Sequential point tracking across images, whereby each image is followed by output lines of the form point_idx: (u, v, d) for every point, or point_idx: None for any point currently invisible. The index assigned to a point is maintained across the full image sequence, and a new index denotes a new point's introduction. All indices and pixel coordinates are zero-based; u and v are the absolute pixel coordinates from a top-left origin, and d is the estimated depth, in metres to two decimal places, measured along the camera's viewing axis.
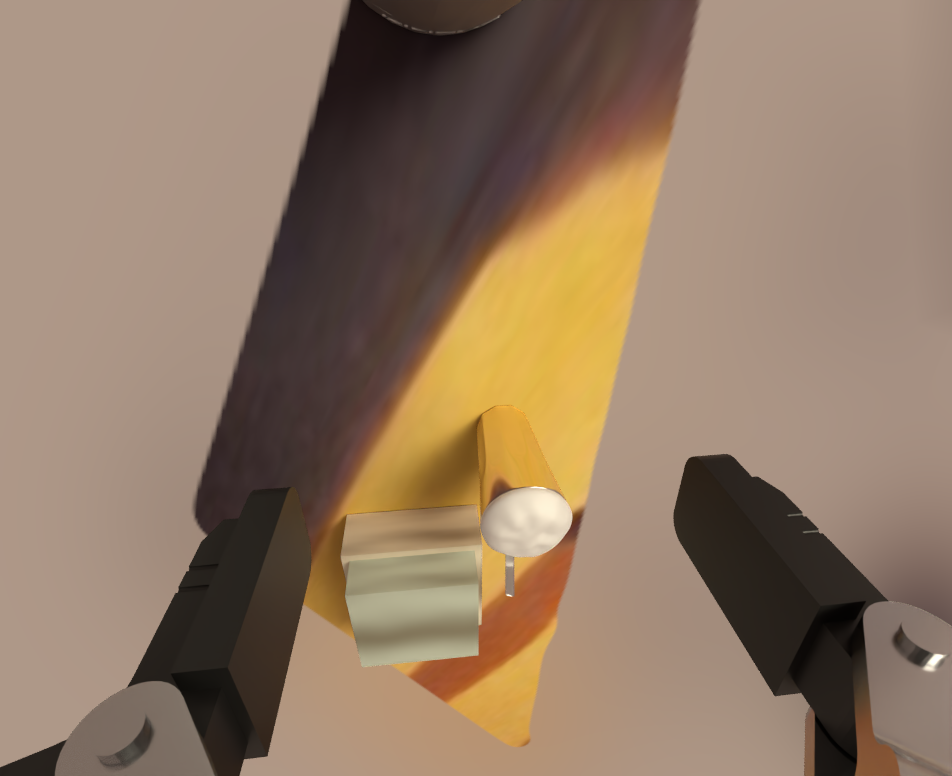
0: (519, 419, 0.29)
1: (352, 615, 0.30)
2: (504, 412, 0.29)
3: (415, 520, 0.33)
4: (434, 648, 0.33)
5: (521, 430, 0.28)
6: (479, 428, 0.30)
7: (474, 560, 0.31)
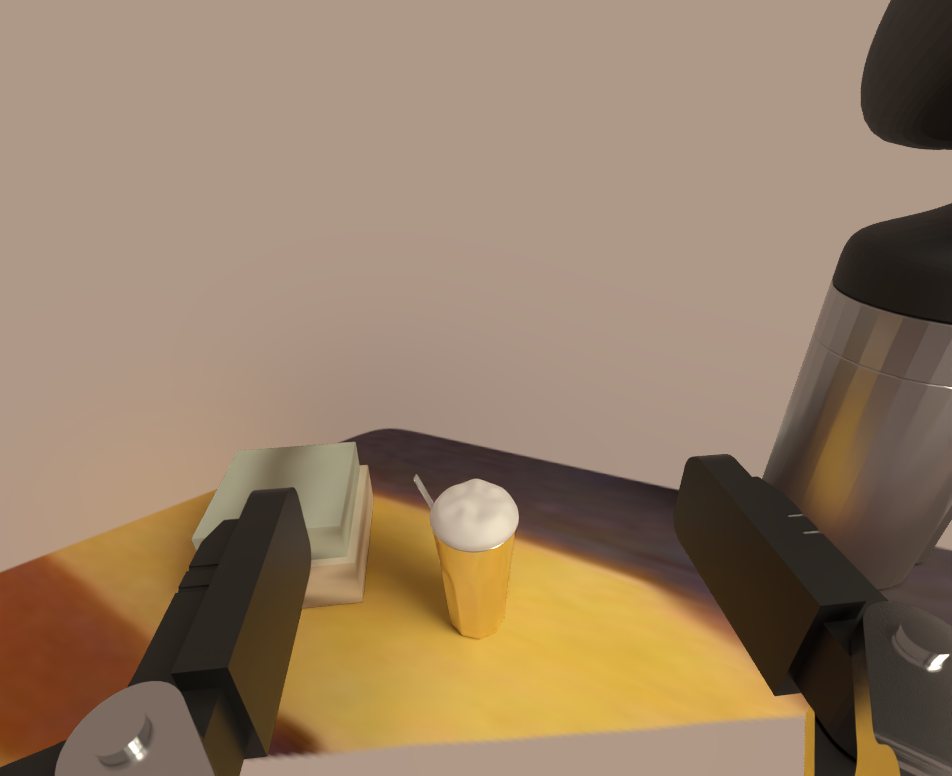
0: (503, 606, 0.28)
1: (325, 445, 0.34)
2: None
3: (366, 537, 0.33)
4: (235, 499, 0.29)
5: None
6: None
7: (345, 546, 0.28)
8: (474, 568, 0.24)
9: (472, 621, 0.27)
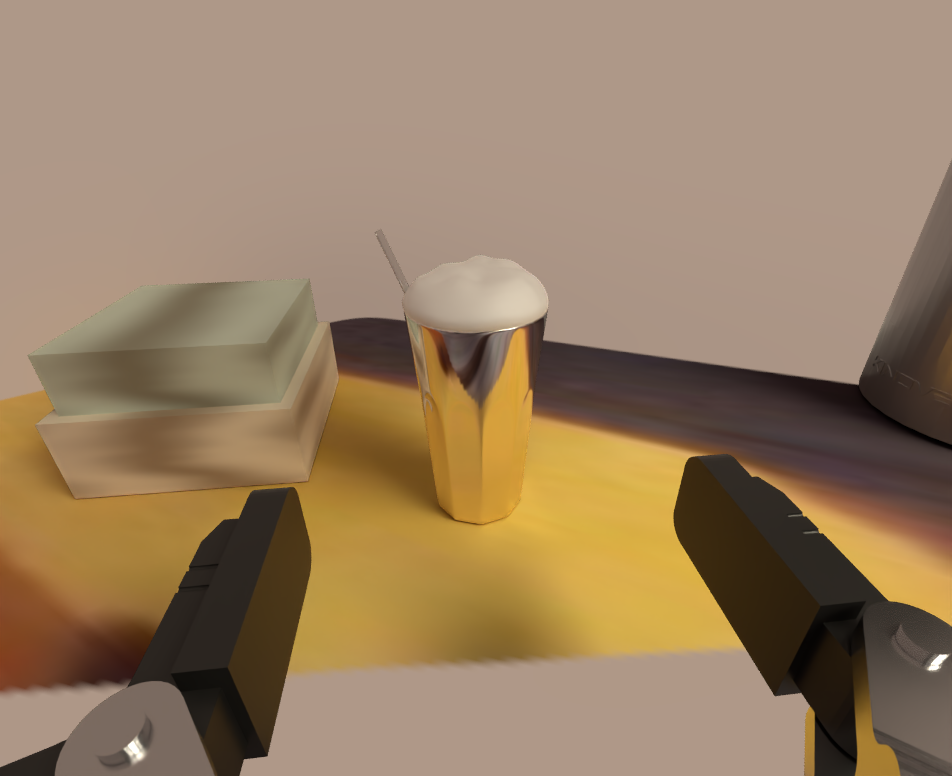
0: (520, 475, 0.18)
1: (267, 281, 0.24)
2: None
3: (321, 406, 0.23)
4: (116, 322, 0.20)
5: (527, 441, 0.17)
6: None
7: (277, 384, 0.18)
8: (475, 373, 0.14)
9: (471, 490, 0.17)
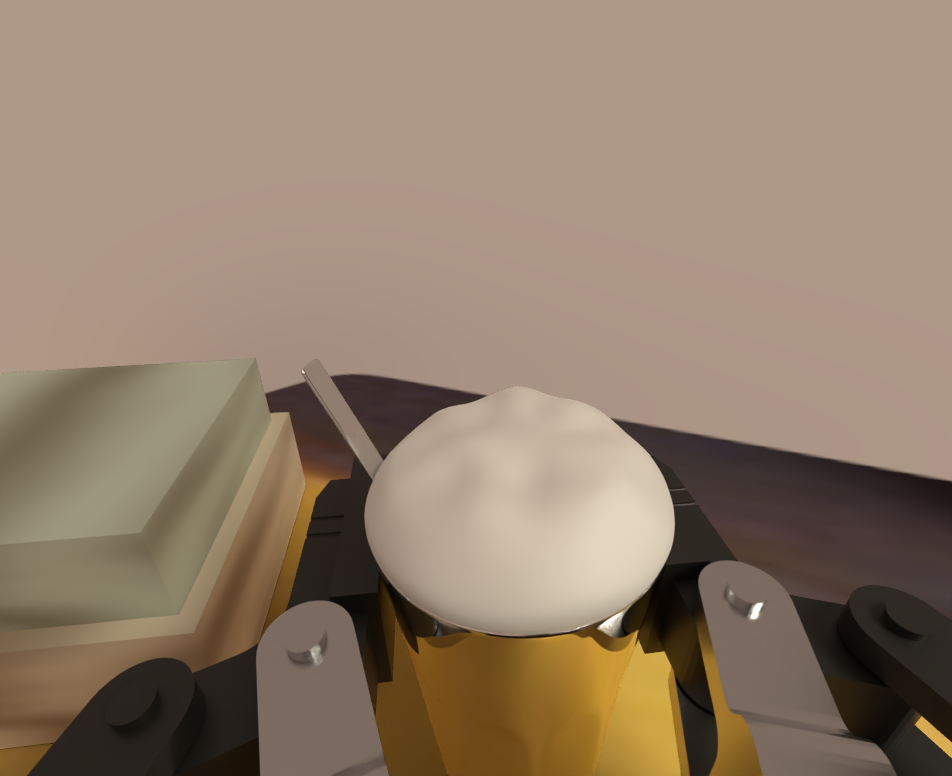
0: (597, 754, 0.10)
1: (192, 364, 0.16)
2: None
3: (270, 557, 0.15)
4: None
5: (612, 708, 0.10)
6: None
7: (170, 587, 0.11)
8: (527, 691, 0.06)
9: None
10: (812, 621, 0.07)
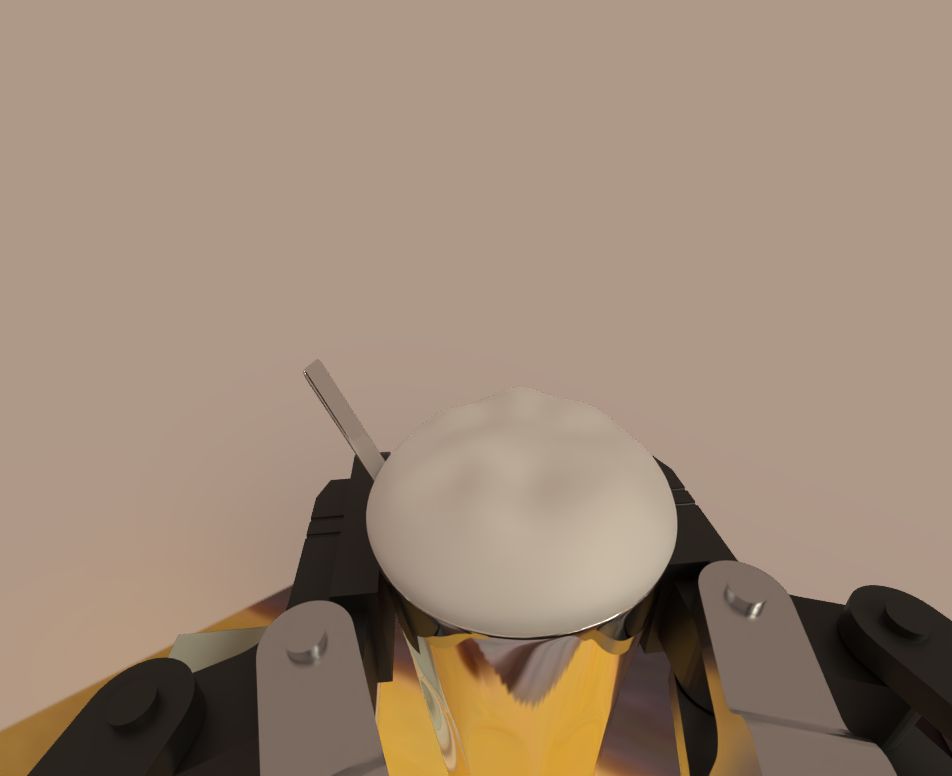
0: (599, 755, 0.10)
1: None
2: None
3: None
4: None
5: (614, 709, 0.09)
6: None
7: None
8: (529, 692, 0.06)
9: None
10: (812, 621, 0.07)
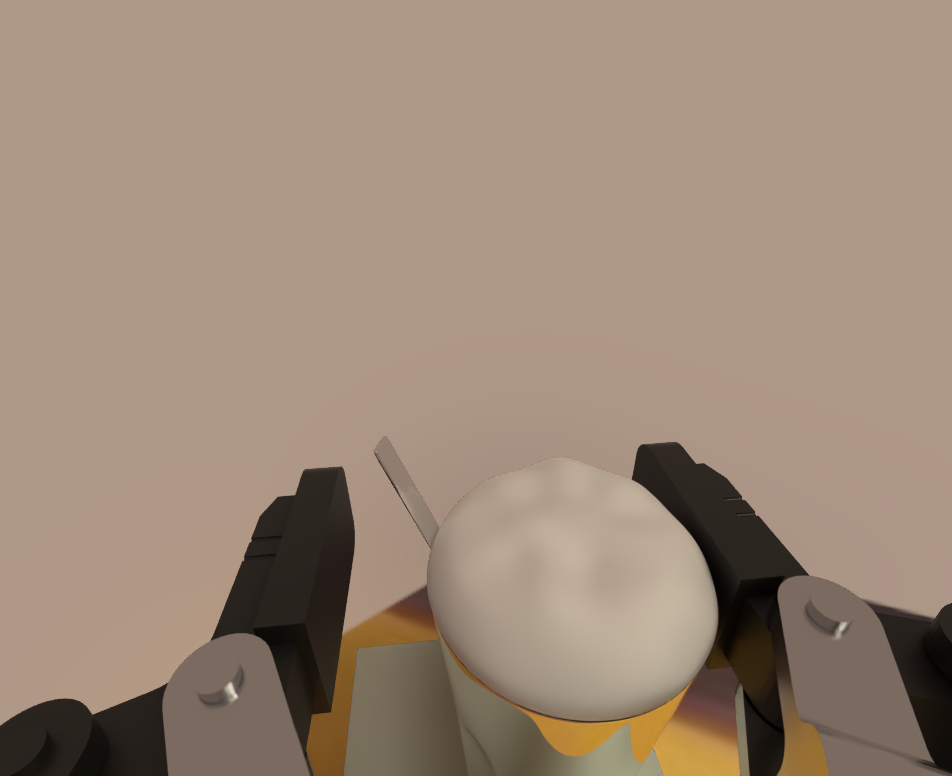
0: None
1: None
2: None
3: None
4: None
5: None
6: None
7: None
8: (579, 761, 0.07)
9: None
10: (897, 639, 0.07)
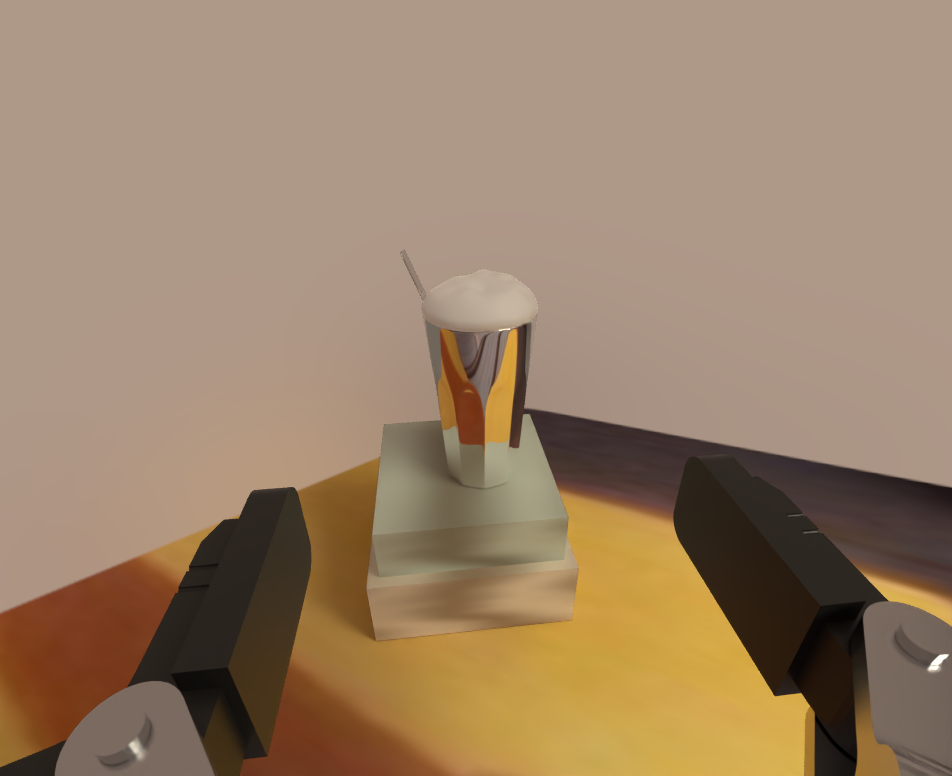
0: (516, 448, 0.22)
1: None
2: None
3: None
4: (408, 483, 0.22)
5: None
6: None
7: (564, 545, 0.21)
8: (479, 364, 0.18)
9: (476, 459, 0.21)
10: None
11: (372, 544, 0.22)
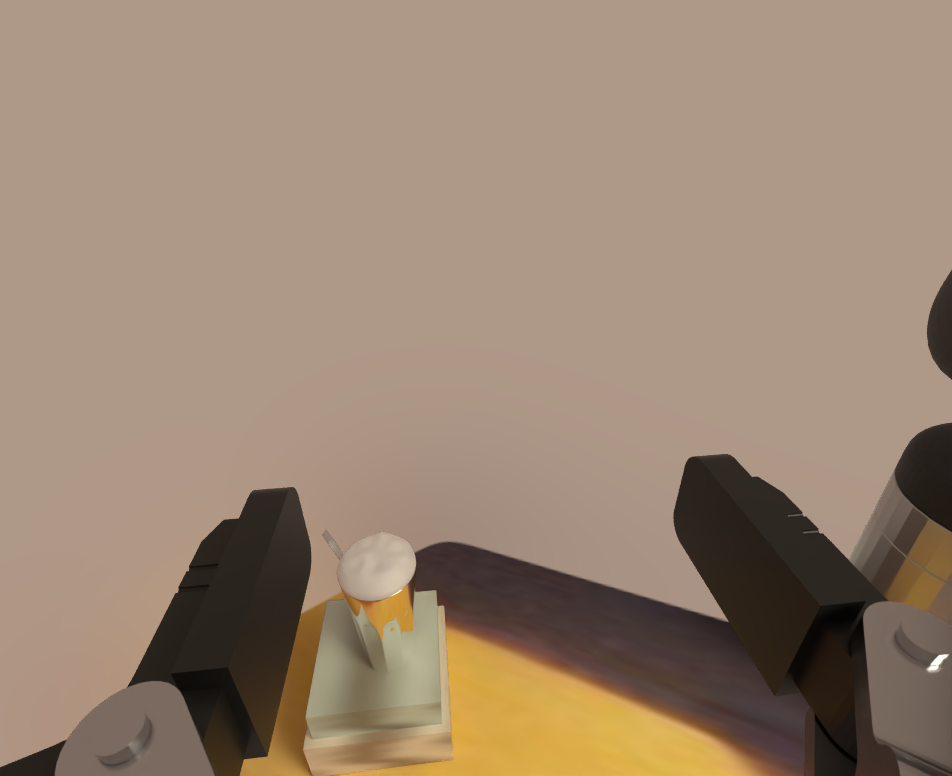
0: (411, 643, 0.31)
1: None
2: (414, 637, 0.32)
3: None
4: (336, 666, 0.32)
5: (413, 628, 0.31)
6: None
7: (441, 715, 0.31)
8: (372, 614, 0.28)
9: (379, 657, 0.30)
10: None
11: None
